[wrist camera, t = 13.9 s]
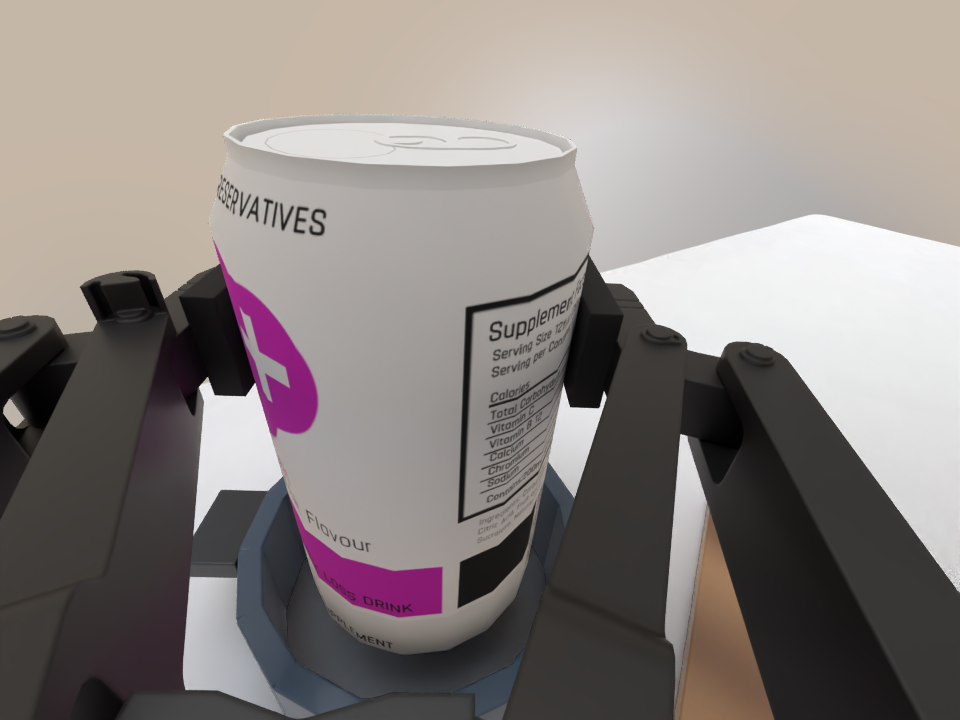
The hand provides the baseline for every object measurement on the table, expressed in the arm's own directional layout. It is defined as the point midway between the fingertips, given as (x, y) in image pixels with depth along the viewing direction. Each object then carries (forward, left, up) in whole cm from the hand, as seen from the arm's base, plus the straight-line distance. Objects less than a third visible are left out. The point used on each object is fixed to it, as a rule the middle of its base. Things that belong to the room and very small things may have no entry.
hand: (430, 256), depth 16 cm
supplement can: (+4, +2, -11) cm, 12 cm away
